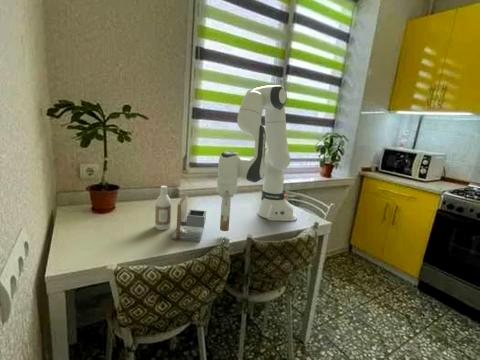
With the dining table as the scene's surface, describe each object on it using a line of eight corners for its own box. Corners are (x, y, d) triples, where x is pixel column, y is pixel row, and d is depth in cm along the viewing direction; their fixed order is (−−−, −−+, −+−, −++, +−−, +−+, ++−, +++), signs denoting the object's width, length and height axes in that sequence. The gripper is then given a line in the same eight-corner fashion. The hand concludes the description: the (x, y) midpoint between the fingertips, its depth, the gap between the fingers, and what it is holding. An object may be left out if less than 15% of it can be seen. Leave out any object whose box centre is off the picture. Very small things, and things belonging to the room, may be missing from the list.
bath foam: (154, 230, 128) (155, 188, 123) (155, 224, 134) (156, 184, 129) (170, 230, 129) (171, 188, 124) (170, 224, 136) (171, 184, 131)
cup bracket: (205, 227, 136) (207, 195, 132) (201, 242, 121) (204, 207, 117) (179, 225, 136) (180, 193, 132) (172, 239, 120) (173, 204, 116)
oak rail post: (228, 227, 130) (230, 203, 127) (228, 231, 126) (230, 206, 123) (220, 227, 130) (221, 202, 127) (219, 230, 126) (221, 205, 123)
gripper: (234, 195, 113) (232, 227, 117) (233, 183, 133) (231, 210, 136) (218, 195, 113) (217, 226, 116) (220, 182, 133) (219, 209, 136)
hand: (225, 217), depth 126 cm, fingers closed on oak rail post, 4 cm apart
